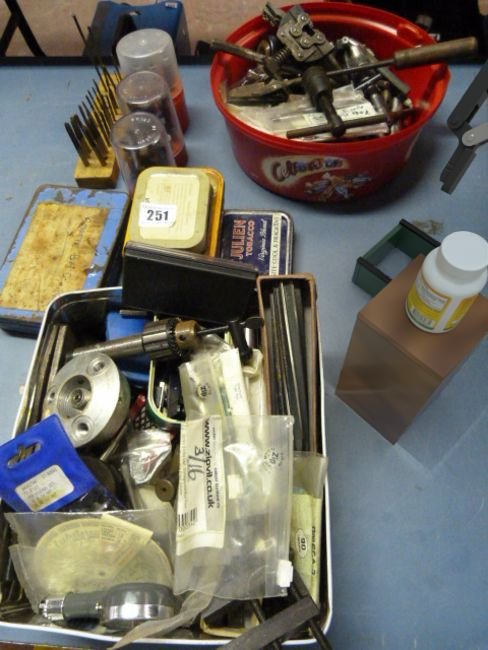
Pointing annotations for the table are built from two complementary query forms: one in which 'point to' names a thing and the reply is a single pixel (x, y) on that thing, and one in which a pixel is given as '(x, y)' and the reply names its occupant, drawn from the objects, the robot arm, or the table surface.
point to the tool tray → (400, 237)
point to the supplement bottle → (448, 282)
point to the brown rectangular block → (403, 358)
